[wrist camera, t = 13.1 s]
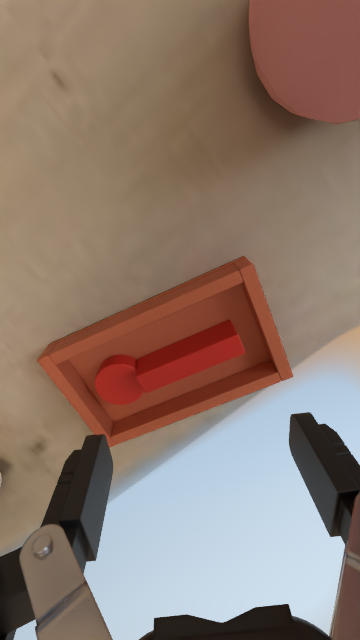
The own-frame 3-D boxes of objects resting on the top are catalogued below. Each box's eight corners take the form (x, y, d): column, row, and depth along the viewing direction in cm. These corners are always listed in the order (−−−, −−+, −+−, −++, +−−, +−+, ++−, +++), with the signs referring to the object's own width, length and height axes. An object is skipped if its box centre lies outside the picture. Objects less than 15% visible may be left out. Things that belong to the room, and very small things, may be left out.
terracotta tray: (244, 255, 17) (253, 263, 16) (282, 360, 20) (293, 377, 19) (48, 344, 19) (36, 360, 17) (110, 428, 22) (105, 449, 21)
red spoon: (224, 306, 18) (232, 320, 16) (242, 347, 19) (251, 365, 17) (89, 365, 19) (80, 385, 17) (113, 400, 21) (107, 423, 19)
